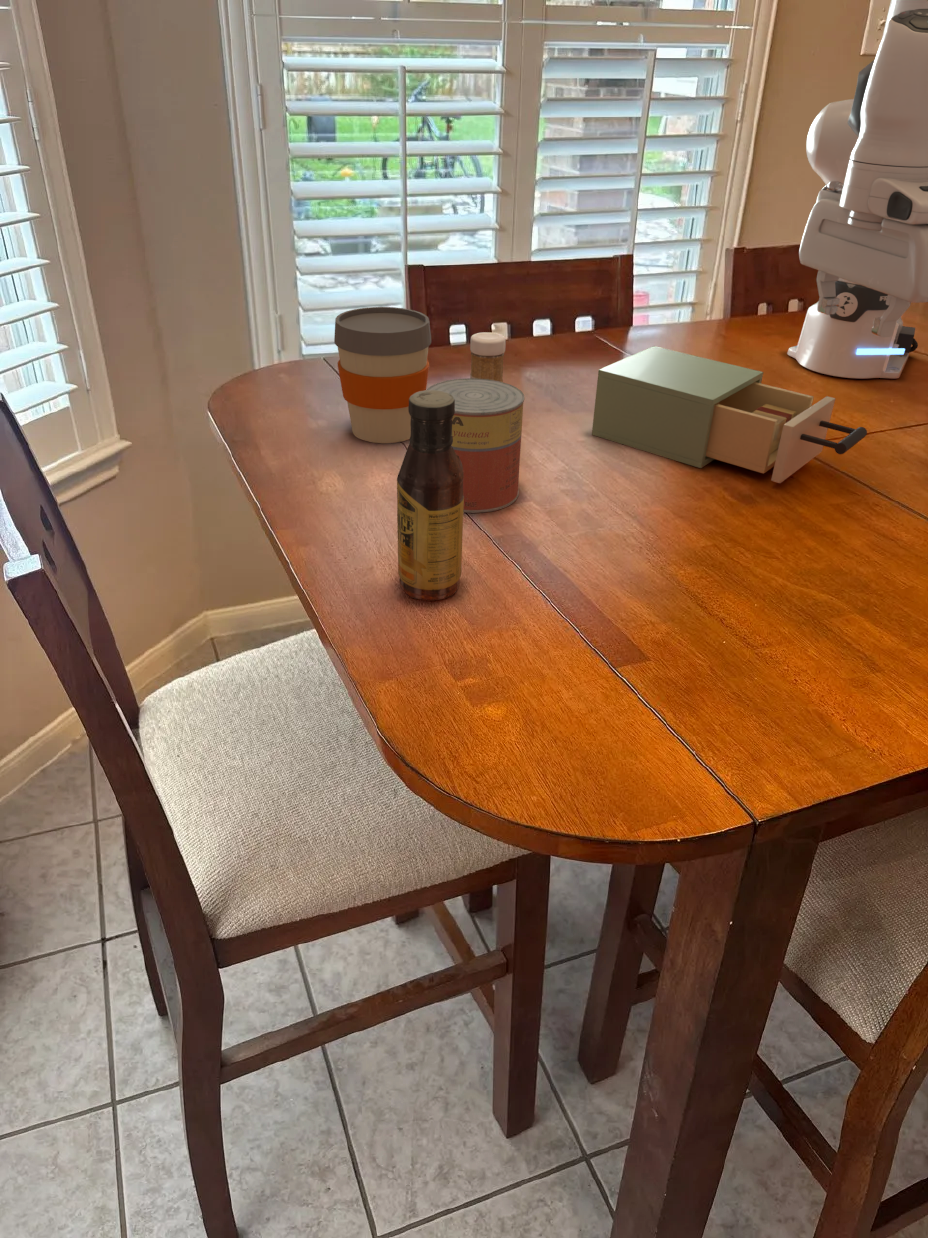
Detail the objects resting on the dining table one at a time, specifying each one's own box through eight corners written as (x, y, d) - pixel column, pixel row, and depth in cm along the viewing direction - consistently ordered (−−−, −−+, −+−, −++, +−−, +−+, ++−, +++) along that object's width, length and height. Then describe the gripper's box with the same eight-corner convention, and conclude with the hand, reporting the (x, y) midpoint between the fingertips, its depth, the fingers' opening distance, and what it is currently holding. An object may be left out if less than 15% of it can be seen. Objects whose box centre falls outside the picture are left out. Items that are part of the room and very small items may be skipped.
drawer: (865, 463, 118) (880, 409, 113) (825, 497, 109) (840, 439, 105) (714, 421, 129) (723, 370, 125) (667, 449, 120) (675, 395, 116)
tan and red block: (759, 432, 123) (765, 402, 120) (790, 440, 120) (797, 411, 118) (729, 452, 117) (735, 421, 115) (760, 461, 115) (767, 430, 112)
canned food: (411, 480, 112) (410, 384, 106) (494, 466, 116) (498, 373, 109) (445, 519, 104) (447, 418, 97) (534, 504, 107) (541, 405, 101)
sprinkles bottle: (507, 437, 124) (513, 338, 117) (479, 444, 122) (483, 343, 115) (488, 426, 127) (492, 329, 120) (461, 432, 125) (463, 333, 118)
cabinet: (750, 436, 127) (763, 371, 122) (700, 468, 117) (713, 399, 112) (645, 407, 135) (654, 345, 130) (591, 434, 126) (598, 369, 121)
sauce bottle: (397, 572, 94) (394, 382, 83) (458, 571, 94) (463, 382, 83) (399, 607, 88) (395, 408, 77) (464, 605, 89) (469, 408, 78)
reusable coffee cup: (450, 431, 126) (451, 320, 117) (382, 456, 118) (379, 339, 110) (387, 407, 133) (385, 301, 125) (320, 429, 125) (312, 318, 117)
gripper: (800, 178, 105) (775, 302, 112) (932, 209, 89) (892, 351, 96) (845, 177, 107) (817, 299, 114) (982, 206, 90) (939, 346, 98)
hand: (852, 323), depth 105 cm, fingers open, 8 cm apart
